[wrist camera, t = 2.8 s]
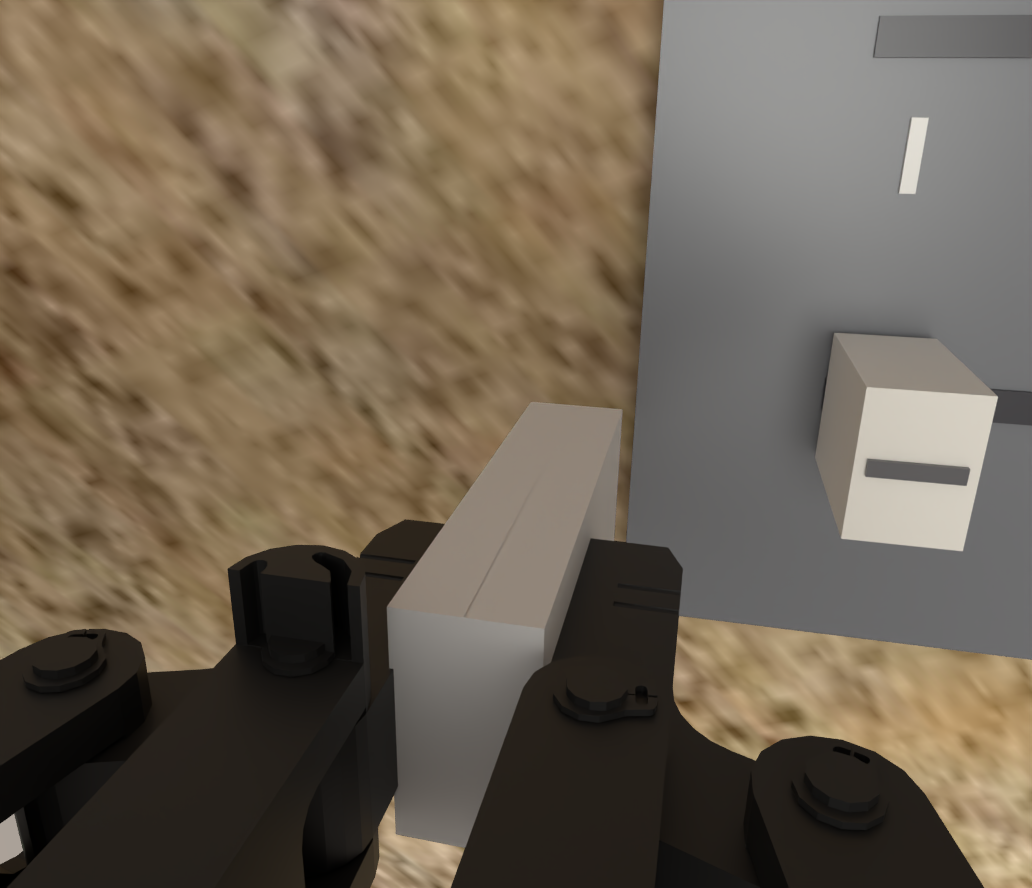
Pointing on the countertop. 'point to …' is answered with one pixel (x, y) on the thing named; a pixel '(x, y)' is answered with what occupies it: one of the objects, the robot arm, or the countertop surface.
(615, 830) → the robot arm
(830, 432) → the fader cream
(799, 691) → the countertop surface
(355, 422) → the countertop surface
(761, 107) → the console
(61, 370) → the countertop surface
